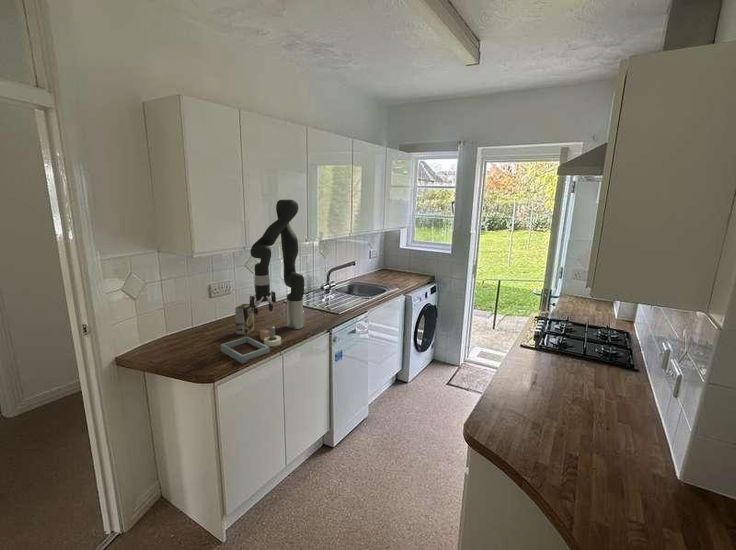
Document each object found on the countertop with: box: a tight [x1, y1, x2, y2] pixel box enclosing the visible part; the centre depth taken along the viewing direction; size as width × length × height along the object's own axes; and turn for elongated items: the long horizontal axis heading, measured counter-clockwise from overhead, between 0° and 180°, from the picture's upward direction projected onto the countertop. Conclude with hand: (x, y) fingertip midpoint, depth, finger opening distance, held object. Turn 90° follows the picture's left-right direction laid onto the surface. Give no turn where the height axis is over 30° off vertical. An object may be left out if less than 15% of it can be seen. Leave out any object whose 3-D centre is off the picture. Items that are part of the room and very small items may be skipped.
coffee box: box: [234, 303, 255, 336], centre depth 203 cm, size 9×6×16 cm
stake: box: [262, 325, 283, 348], centre depth 189 cm, size 10×10×10 cm
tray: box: [220, 336, 271, 365], centre depth 179 cm, size 15×20×4 cm
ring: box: [259, 328, 282, 347], centre depth 191 cm, size 9×13×5 cm, turn 49°
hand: (263, 312), depth 191 cm, fingers open, 8 cm apart
